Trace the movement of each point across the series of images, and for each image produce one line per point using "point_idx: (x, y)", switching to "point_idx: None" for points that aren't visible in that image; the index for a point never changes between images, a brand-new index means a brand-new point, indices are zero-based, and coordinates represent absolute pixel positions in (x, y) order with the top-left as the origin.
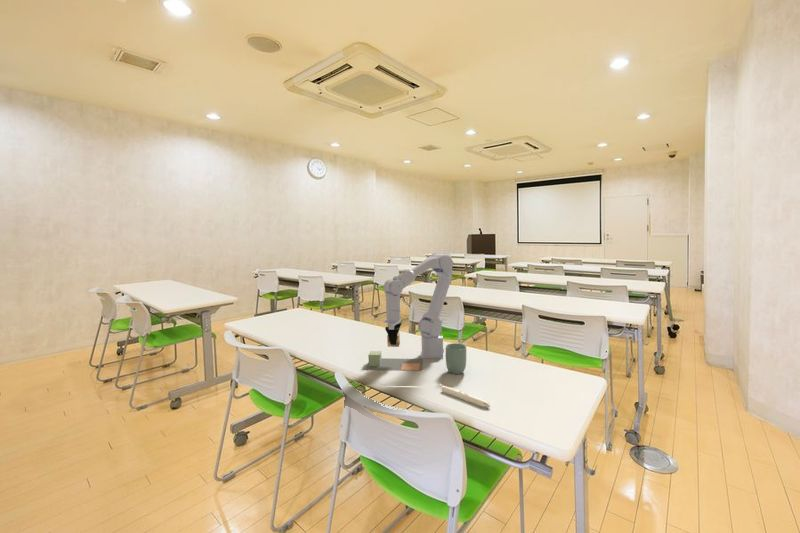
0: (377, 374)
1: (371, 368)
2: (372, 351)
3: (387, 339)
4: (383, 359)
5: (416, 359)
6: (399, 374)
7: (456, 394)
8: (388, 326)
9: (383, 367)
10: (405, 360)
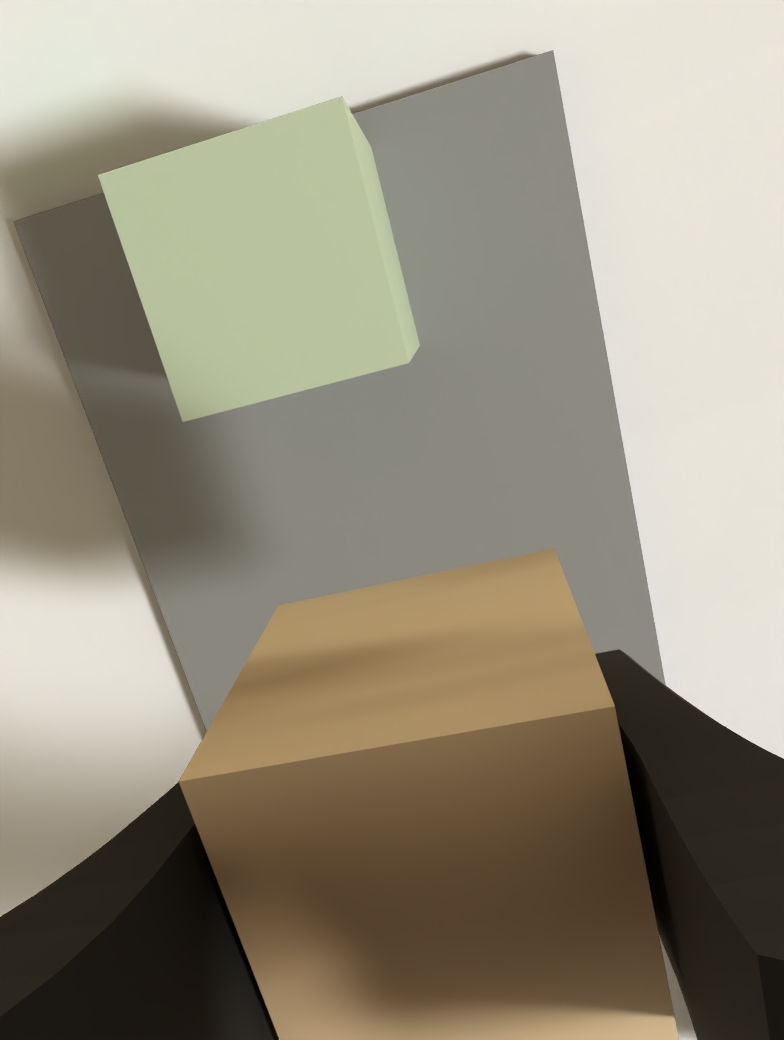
0: (4, 460)
1: (105, 303)
2: (332, 163)
3: (225, 705)
4: (545, 329)
5: None
6: (124, 717)
7: None
8: (728, 906)
9: (212, 467)
10: None
